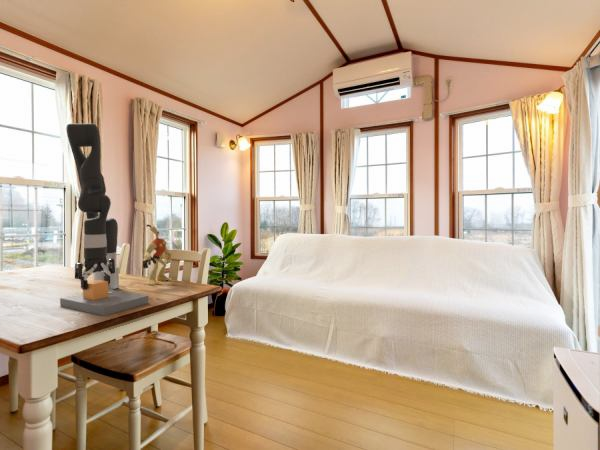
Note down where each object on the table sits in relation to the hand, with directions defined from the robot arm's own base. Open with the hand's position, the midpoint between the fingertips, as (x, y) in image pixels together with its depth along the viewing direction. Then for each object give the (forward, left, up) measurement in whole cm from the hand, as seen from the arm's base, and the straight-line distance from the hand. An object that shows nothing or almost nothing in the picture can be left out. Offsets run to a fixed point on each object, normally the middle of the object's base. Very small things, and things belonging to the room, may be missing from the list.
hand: (96, 287), depth 125 cm
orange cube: (0, 0, -4) cm, 4 cm away
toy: (-38, -11, -7) cm, 40 cm away
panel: (-2, +3, -7) cm, 8 cm away
